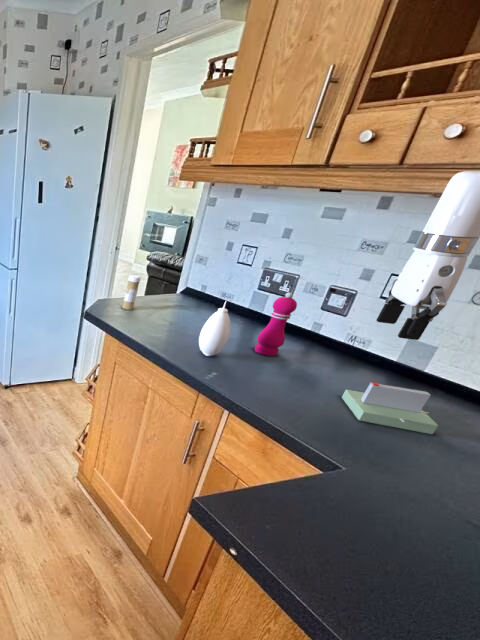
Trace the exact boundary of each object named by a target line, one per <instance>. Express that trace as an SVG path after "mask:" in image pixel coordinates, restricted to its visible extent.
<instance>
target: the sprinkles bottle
mask: <svg viewBox="0 0 480 640" xmlns="http://www.w3.org/2000/svg"><path fill="white" fill-rule="evenodd" d="M141 278H142V277H141V275H138V274H129V276H128V278H127V285H126V290H125V294H124V299H123V303H122V308H123V309H124V310H134V309H135V307H134V306H135V302H136V298H137V295H138V290H139V286H140V285H139V284H140V282H141Z"/></svg>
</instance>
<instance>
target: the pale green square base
mask: <svg viewBox="0 0 480 640" xmlns="http://www.w3.org/2000/svg"><path fill="white" fill-rule="evenodd" d="M364 393H365V392H363V391H356V390H350V389H345V390H344V393H343V394H342V396H341V399H342V400H343V401H344V403H345V404H346V405H347V407H348V409H350V411H351V412H352V413H353V415H354V416H355V418H356V419H357V420H358V421H360V422H364V423H370V424H376V425H381V426H385V427H392V428H397V429H402V430H407V431H413V432H418V433H424V434H428V435H433V434H434V433H435V431H436V430H437V429H438V427H439V424H438V423H436V422H435V421H434V420H433V419H432V418H431V417H430V416H429V414H430V412H428V411H424V410H423V408H422V409H421V411H420V412H419V413H418V412H412V411H407V410H401V409H396V408H390V407H384V406H379V405H373V404H368V403H363V402H362V401H361V398H362V397H363V395H364Z"/></svg>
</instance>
